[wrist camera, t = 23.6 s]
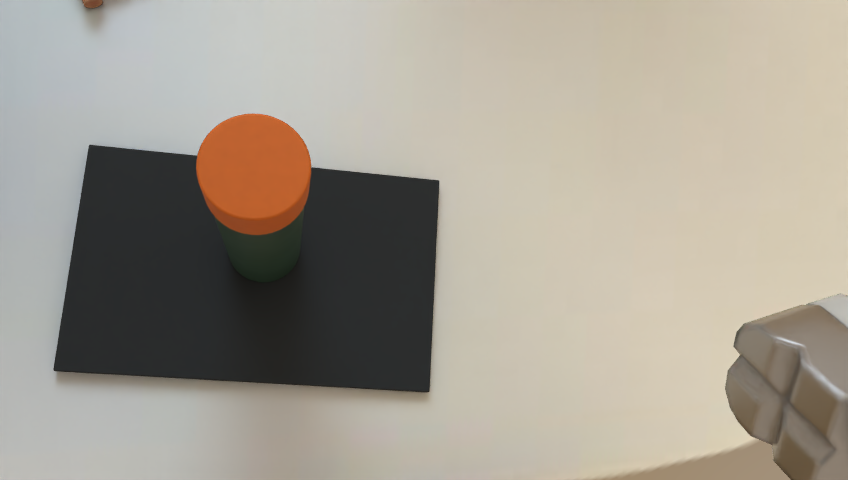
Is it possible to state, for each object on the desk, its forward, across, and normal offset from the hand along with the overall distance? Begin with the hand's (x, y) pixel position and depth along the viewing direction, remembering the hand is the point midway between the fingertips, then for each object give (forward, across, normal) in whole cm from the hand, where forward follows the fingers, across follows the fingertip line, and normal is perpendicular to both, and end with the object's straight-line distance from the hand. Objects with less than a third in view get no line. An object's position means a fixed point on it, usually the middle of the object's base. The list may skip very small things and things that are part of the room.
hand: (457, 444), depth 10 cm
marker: (+23, +1, +12) cm, 26 cm away
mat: (+23, +1, +13) cm, 26 cm away
